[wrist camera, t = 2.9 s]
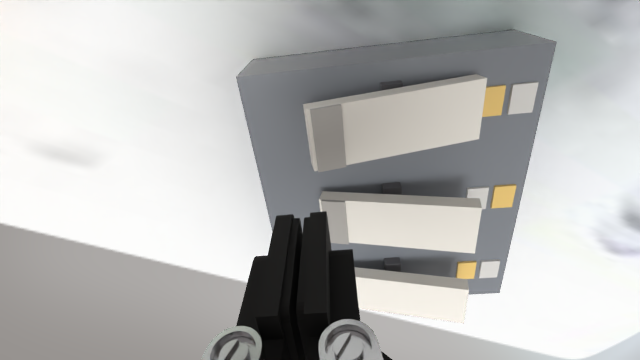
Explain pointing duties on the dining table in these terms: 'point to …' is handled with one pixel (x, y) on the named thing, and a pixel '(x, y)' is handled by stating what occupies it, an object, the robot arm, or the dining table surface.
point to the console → (416, 167)
